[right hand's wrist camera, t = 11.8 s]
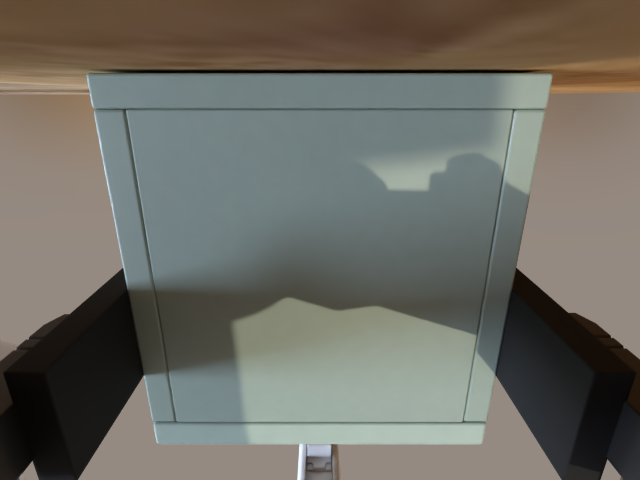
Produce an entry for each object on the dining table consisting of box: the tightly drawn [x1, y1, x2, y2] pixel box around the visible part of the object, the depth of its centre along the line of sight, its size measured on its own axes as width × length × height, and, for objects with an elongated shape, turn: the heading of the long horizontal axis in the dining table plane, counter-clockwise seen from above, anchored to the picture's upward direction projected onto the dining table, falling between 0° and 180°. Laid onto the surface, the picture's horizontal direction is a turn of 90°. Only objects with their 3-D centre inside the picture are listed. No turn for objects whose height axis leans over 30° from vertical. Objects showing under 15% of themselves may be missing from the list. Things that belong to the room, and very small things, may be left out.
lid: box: [154, 420, 486, 444], centre depth 19 cm, size 14×10×8 cm
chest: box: [87, 73, 553, 422], centre depth 16 cm, size 13×10×10 cm
